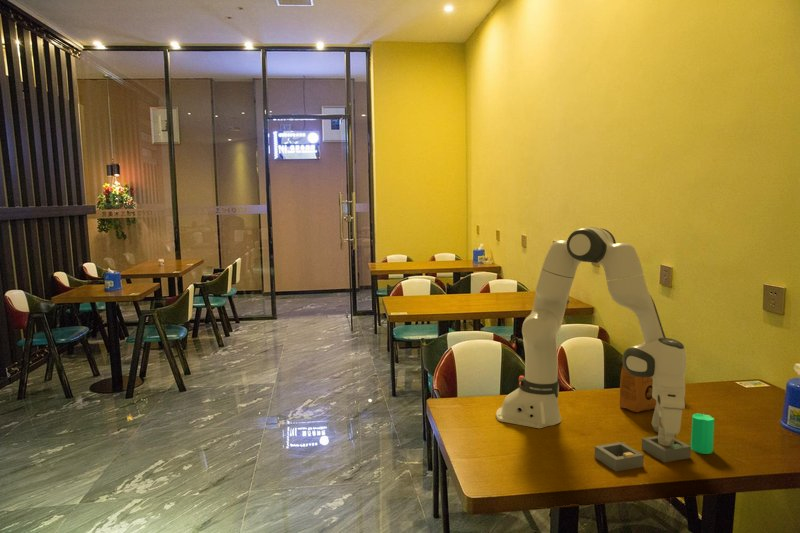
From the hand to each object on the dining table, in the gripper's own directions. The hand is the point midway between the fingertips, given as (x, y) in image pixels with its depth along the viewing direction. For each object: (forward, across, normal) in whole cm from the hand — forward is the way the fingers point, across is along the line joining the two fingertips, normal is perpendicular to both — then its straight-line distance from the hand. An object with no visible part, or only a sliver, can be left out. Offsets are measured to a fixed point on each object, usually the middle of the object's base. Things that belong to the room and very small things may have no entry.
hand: (666, 437), depth 171 cm
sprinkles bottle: (+5, 0, 0) cm, 5 cm away
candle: (+5, -6, +11) cm, 14 cm away
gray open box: (+5, +10, -14) cm, 18 cm away
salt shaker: (+5, -18, +1) cm, 19 cm away
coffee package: (+5, -38, -4) cm, 39 cm away
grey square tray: (+5, 0, 0) cm, 5 cm away
